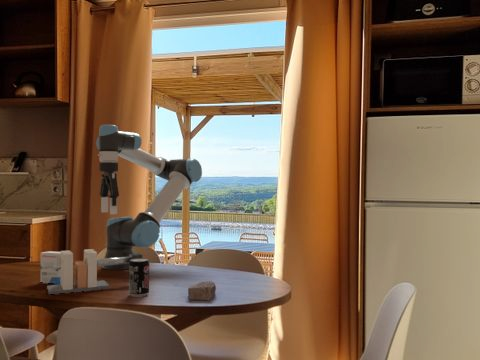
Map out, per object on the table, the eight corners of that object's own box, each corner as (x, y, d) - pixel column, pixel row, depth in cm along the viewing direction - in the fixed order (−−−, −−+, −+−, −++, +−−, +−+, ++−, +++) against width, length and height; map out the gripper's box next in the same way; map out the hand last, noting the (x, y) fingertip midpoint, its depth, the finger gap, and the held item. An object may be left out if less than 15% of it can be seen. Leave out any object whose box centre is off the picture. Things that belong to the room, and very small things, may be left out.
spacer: (83, 282, 157) (83, 261, 157) (86, 287, 150) (86, 264, 150) (74, 283, 156) (74, 261, 156) (77, 288, 149) (78, 265, 149)
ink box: (66, 282, 164) (67, 251, 164) (57, 284, 159) (57, 253, 160) (49, 280, 167) (49, 250, 167) (39, 283, 162) (39, 252, 163)
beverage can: (148, 292, 148) (149, 257, 148) (149, 297, 141) (149, 261, 142) (129, 293, 146) (129, 258, 147) (128, 298, 140) (128, 261, 140)
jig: (104, 283, 162) (104, 248, 162) (109, 288, 153) (109, 251, 153) (46, 289, 152) (47, 251, 152) (49, 295, 143) (49, 255, 144)
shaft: (139, 263, 165) (139, 253, 165) (142, 265, 162) (142, 254, 162) (88, 267, 156) (88, 256, 156) (90, 269, 153) (90, 258, 153)
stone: (191, 292, 148) (191, 279, 149) (216, 292, 148) (216, 279, 148) (186, 301, 137) (186, 286, 137) (214, 301, 137) (214, 287, 137)
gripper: (92, 163, 184) (92, 211, 184) (107, 160, 163) (107, 215, 163) (109, 163, 188) (110, 211, 188) (126, 160, 167) (127, 214, 167)
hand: (109, 213), depth 176 cm, fingers open, 13 cm apart
